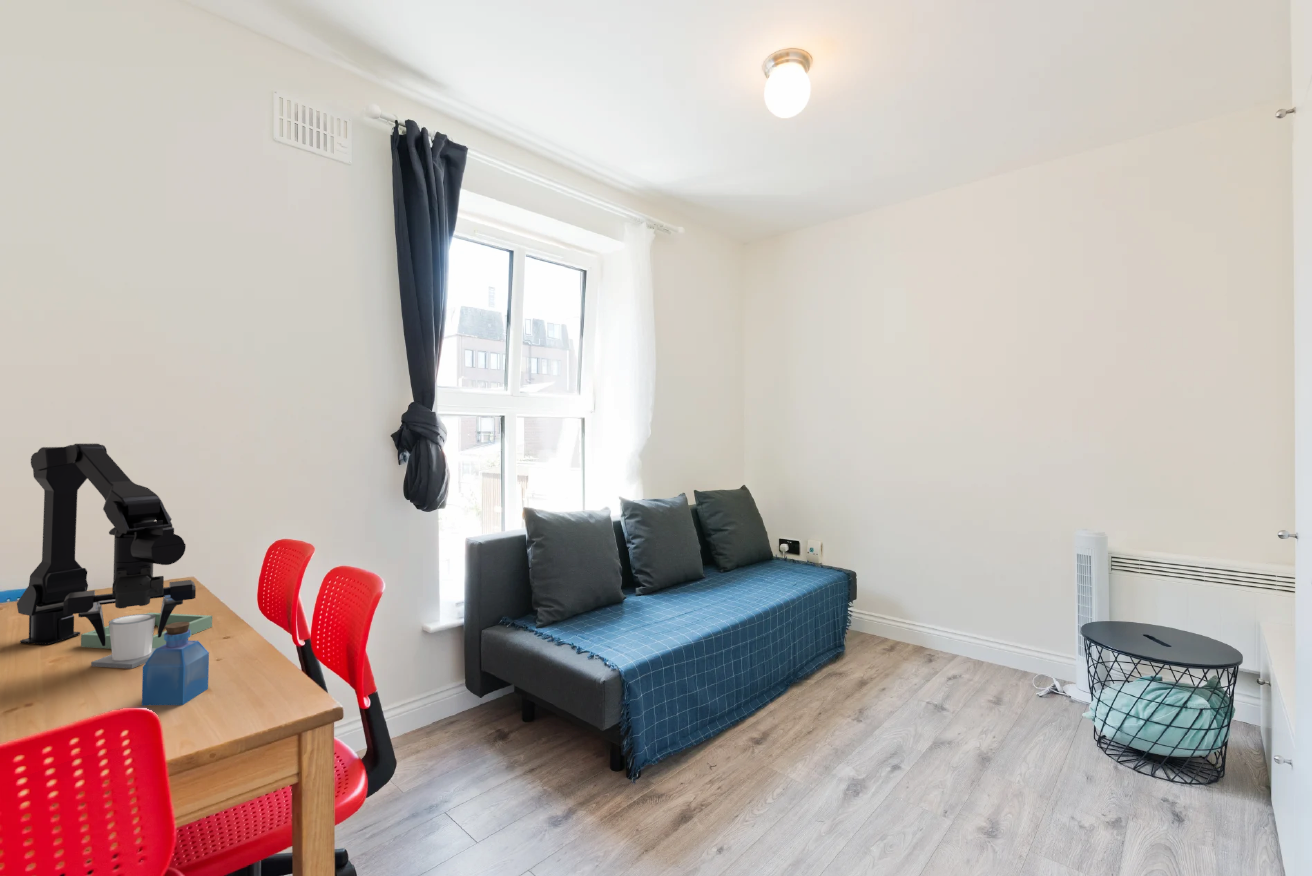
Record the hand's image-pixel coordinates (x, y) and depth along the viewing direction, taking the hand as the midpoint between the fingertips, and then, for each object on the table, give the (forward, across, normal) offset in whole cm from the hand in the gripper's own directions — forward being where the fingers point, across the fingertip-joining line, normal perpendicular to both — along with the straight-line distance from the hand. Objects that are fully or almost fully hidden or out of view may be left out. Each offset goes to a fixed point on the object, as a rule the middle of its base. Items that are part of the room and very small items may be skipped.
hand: (132, 641), depth 115 cm
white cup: (+3, 0, 0) cm, 3 cm away
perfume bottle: (+4, +6, -25) cm, 26 cm away
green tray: (+4, +3, +14) cm, 15 cm away
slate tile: (+4, 0, 0) cm, 4 cm away
